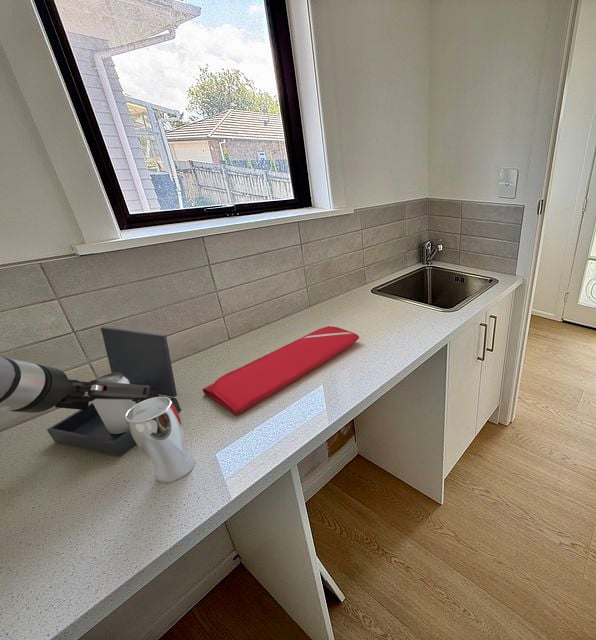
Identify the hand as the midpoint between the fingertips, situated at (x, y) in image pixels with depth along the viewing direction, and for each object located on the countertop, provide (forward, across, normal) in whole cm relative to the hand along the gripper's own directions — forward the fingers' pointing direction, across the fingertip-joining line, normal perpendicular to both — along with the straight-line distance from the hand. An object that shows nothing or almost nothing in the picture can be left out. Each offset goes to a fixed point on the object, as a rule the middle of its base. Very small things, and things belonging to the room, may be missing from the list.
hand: (122, 400), depth 73 cm
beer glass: (-6, +16, -15) cm, 23 cm away
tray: (+4, -2, -5) cm, 7 cm away
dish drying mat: (+18, +30, +9) cm, 36 cm away
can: (+3, 0, -5) cm, 6 cm away
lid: (+1, +1, +9) cm, 9 cm away
